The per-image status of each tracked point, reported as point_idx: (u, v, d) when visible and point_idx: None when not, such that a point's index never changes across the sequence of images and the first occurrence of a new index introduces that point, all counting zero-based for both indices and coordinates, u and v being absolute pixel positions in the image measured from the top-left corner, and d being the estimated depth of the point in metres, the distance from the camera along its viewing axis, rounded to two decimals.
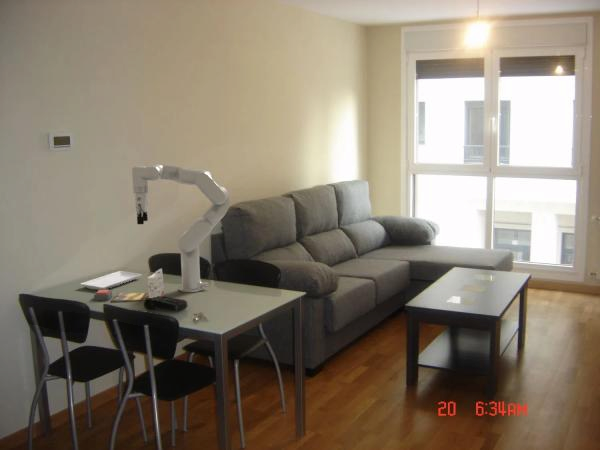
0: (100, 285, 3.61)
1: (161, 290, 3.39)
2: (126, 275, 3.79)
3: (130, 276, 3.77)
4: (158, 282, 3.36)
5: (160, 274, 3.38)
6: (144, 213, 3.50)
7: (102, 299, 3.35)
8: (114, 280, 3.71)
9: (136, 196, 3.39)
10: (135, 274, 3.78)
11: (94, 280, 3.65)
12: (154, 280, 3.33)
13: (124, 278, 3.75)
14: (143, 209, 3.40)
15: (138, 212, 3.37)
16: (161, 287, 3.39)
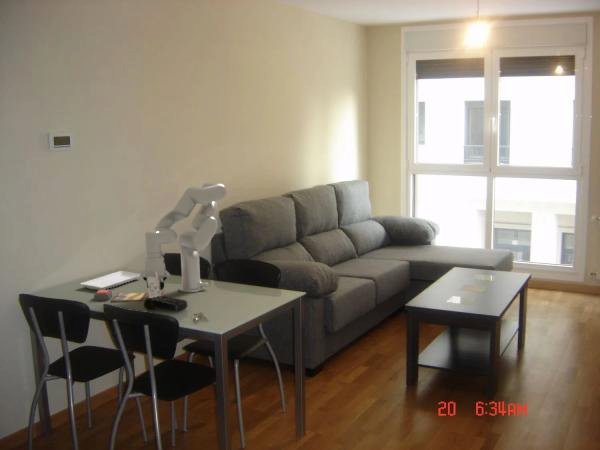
0: (100, 285, 3.61)
1: (161, 290, 3.39)
2: (127, 275, 3.79)
3: (131, 276, 3.77)
4: (158, 282, 3.36)
5: None
6: None
7: (102, 299, 3.35)
8: (114, 280, 3.71)
9: (162, 260, 3.34)
10: (136, 274, 3.77)
11: (94, 280, 3.65)
12: (154, 280, 3.33)
13: (125, 278, 3.75)
14: None
15: (167, 277, 3.37)
16: None
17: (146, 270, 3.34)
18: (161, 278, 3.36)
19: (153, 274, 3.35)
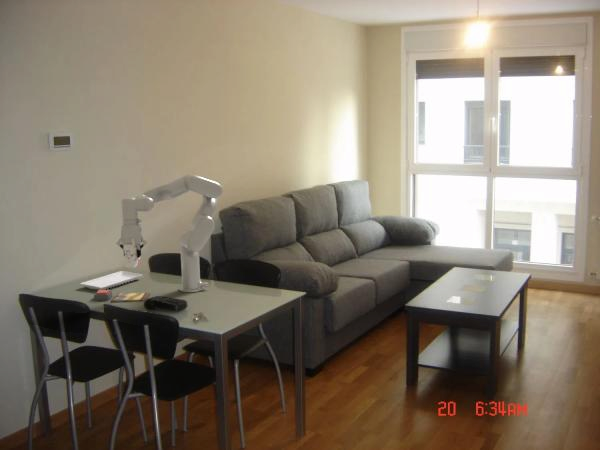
0: (100, 285, 3.61)
1: (138, 258, 3.36)
2: (127, 275, 3.79)
3: (131, 276, 3.77)
4: (135, 249, 3.32)
5: None
6: None
7: (102, 299, 3.35)
8: (115, 280, 3.71)
9: (139, 227, 3.31)
10: (136, 274, 3.77)
11: (95, 280, 3.65)
12: (130, 247, 3.30)
13: (125, 278, 3.75)
14: None
15: None
16: None
17: (123, 237, 3.31)
18: (138, 246, 3.33)
19: (130, 242, 3.32)
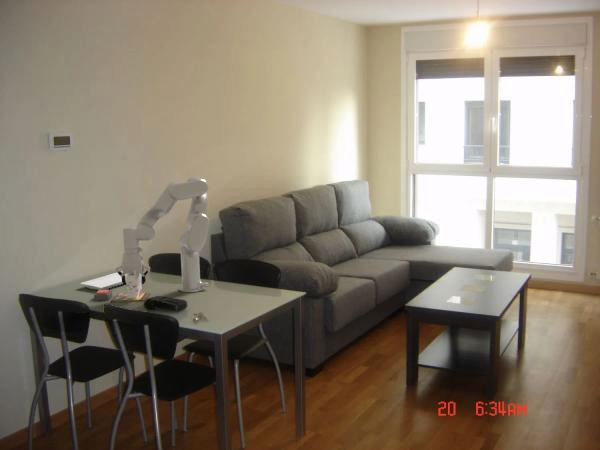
0: (100, 285, 3.61)
1: (139, 288, 3.39)
2: None
3: None
4: (137, 280, 3.36)
5: None
6: (124, 276, 3.37)
7: (102, 299, 3.35)
8: (115, 280, 3.71)
9: (140, 256, 3.34)
10: None
11: (95, 280, 3.66)
12: (132, 278, 3.33)
13: None
14: (143, 268, 3.38)
15: (148, 271, 3.36)
16: (140, 286, 3.39)
17: (124, 266, 3.34)
18: (141, 273, 3.35)
19: (131, 271, 3.34)
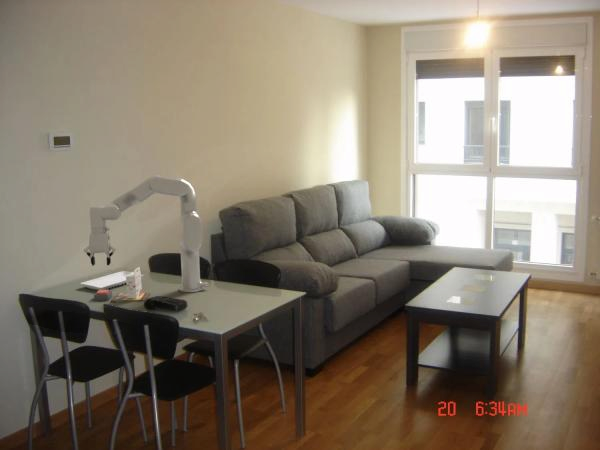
0: (100, 285, 3.61)
1: (139, 288, 3.39)
2: None
3: None
4: (137, 280, 3.36)
5: (138, 272, 3.38)
6: (93, 256, 3.35)
7: (102, 299, 3.35)
8: (115, 280, 3.71)
9: (107, 236, 3.31)
10: None
11: (95, 280, 3.66)
12: (132, 278, 3.33)
13: None
14: None
15: None
16: (140, 286, 3.39)
17: (90, 246, 3.31)
18: (107, 254, 3.33)
19: (98, 250, 3.32)
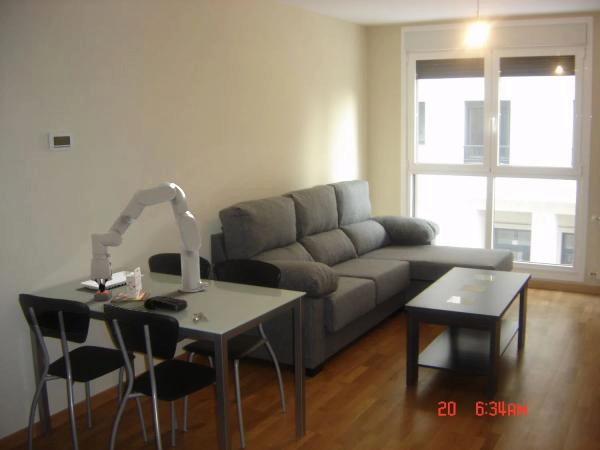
0: None
1: (139, 288, 3.39)
2: None
3: None
4: (137, 280, 3.36)
5: (138, 272, 3.38)
6: (101, 282, 3.37)
7: (102, 299, 3.35)
8: (116, 280, 3.70)
9: (108, 262, 3.34)
10: None
11: None
12: (132, 278, 3.33)
13: None
14: None
15: None
16: (140, 286, 3.39)
17: (92, 272, 3.34)
18: (103, 280, 3.35)
19: (99, 276, 3.34)
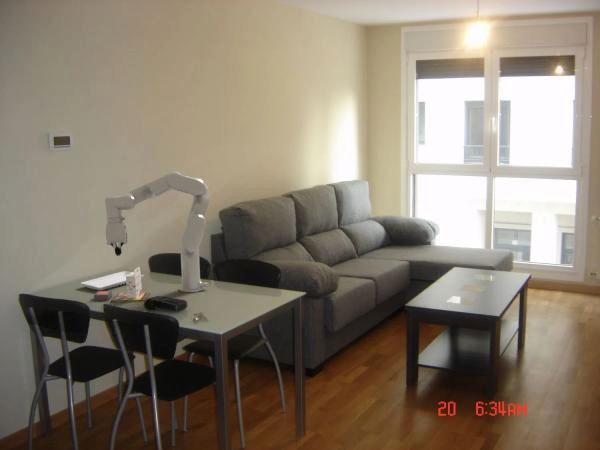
0: (100, 285, 3.61)
1: (139, 288, 3.39)
2: None
3: None
4: (137, 280, 3.36)
5: (138, 272, 3.38)
6: None
7: (102, 299, 3.35)
8: (116, 280, 3.70)
9: (123, 225, 3.37)
10: None
11: (95, 280, 3.66)
12: (132, 278, 3.33)
13: None
14: (127, 237, 3.42)
15: (124, 243, 3.40)
16: (140, 286, 3.39)
17: (108, 235, 3.37)
18: (119, 244, 3.39)
19: (115, 240, 3.38)
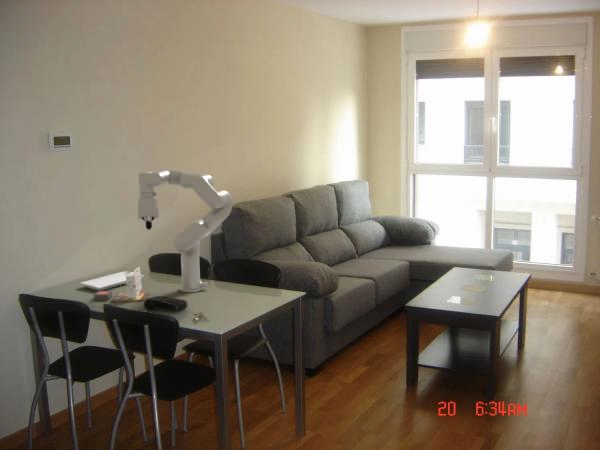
0: (100, 285, 3.61)
1: (139, 288, 3.39)
2: None
3: None
4: (137, 280, 3.36)
5: (138, 272, 3.38)
6: None
7: (102, 299, 3.35)
8: (116, 280, 3.70)
9: (155, 200, 3.49)
10: None
11: (96, 280, 3.66)
12: (132, 278, 3.33)
13: None
14: None
15: None
16: (140, 286, 3.39)
17: (139, 209, 3.49)
18: (150, 218, 3.51)
19: (146, 214, 3.50)
